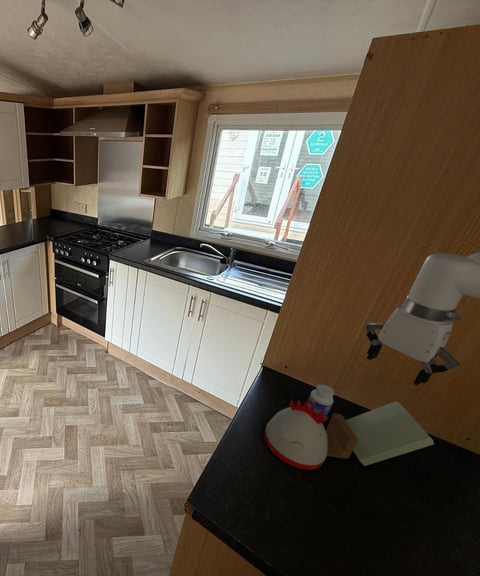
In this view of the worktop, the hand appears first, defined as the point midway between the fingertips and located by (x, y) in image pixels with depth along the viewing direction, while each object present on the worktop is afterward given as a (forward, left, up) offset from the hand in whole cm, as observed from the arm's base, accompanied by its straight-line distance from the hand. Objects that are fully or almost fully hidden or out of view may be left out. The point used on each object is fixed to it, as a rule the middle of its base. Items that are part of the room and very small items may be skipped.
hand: (393, 369), depth 76 cm
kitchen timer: (+19, +7, -22) cm, 31 cm away
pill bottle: (+9, -5, -22) cm, 25 cm away
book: (-1, +5, -17) cm, 18 cm away
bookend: (+10, +5, -22) cm, 25 cm away
